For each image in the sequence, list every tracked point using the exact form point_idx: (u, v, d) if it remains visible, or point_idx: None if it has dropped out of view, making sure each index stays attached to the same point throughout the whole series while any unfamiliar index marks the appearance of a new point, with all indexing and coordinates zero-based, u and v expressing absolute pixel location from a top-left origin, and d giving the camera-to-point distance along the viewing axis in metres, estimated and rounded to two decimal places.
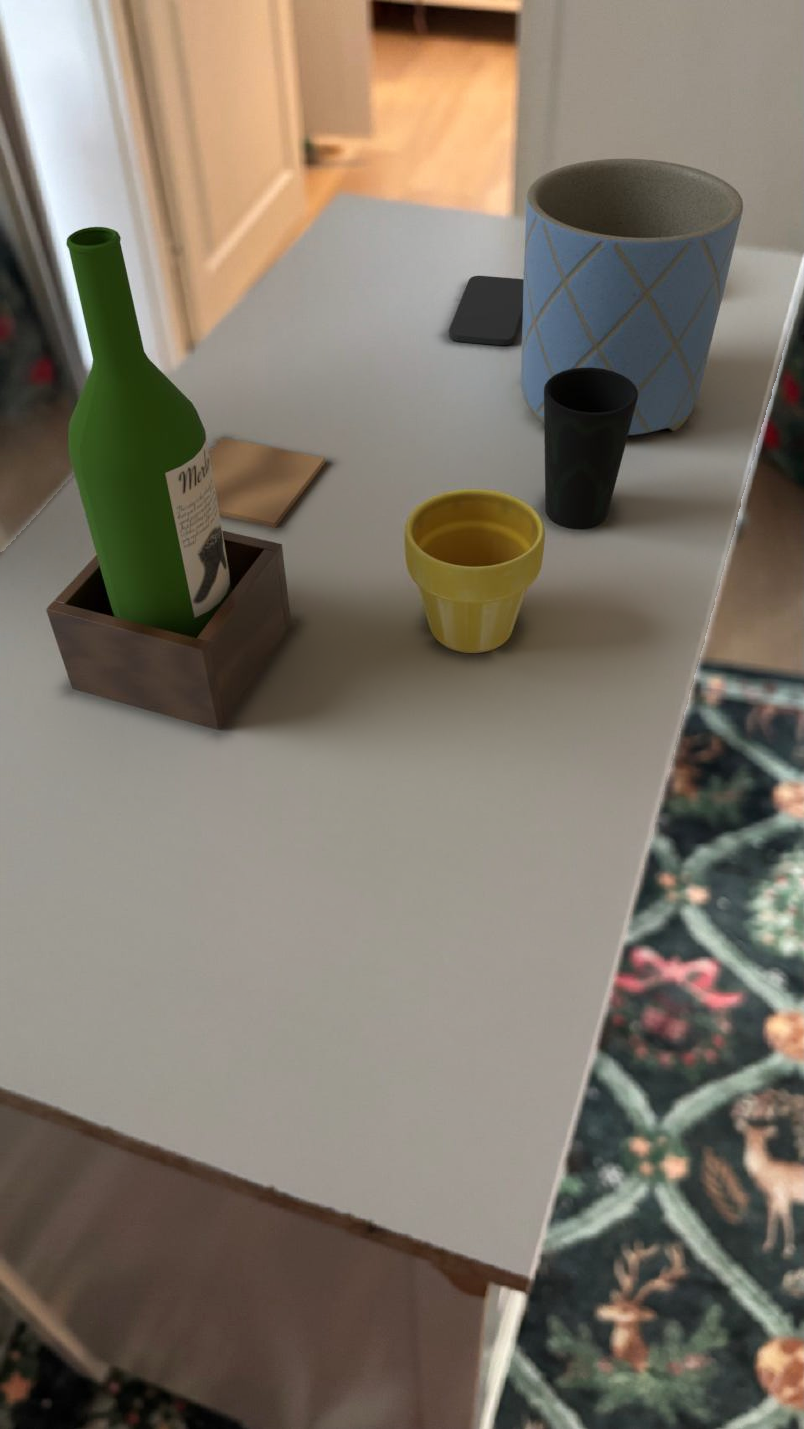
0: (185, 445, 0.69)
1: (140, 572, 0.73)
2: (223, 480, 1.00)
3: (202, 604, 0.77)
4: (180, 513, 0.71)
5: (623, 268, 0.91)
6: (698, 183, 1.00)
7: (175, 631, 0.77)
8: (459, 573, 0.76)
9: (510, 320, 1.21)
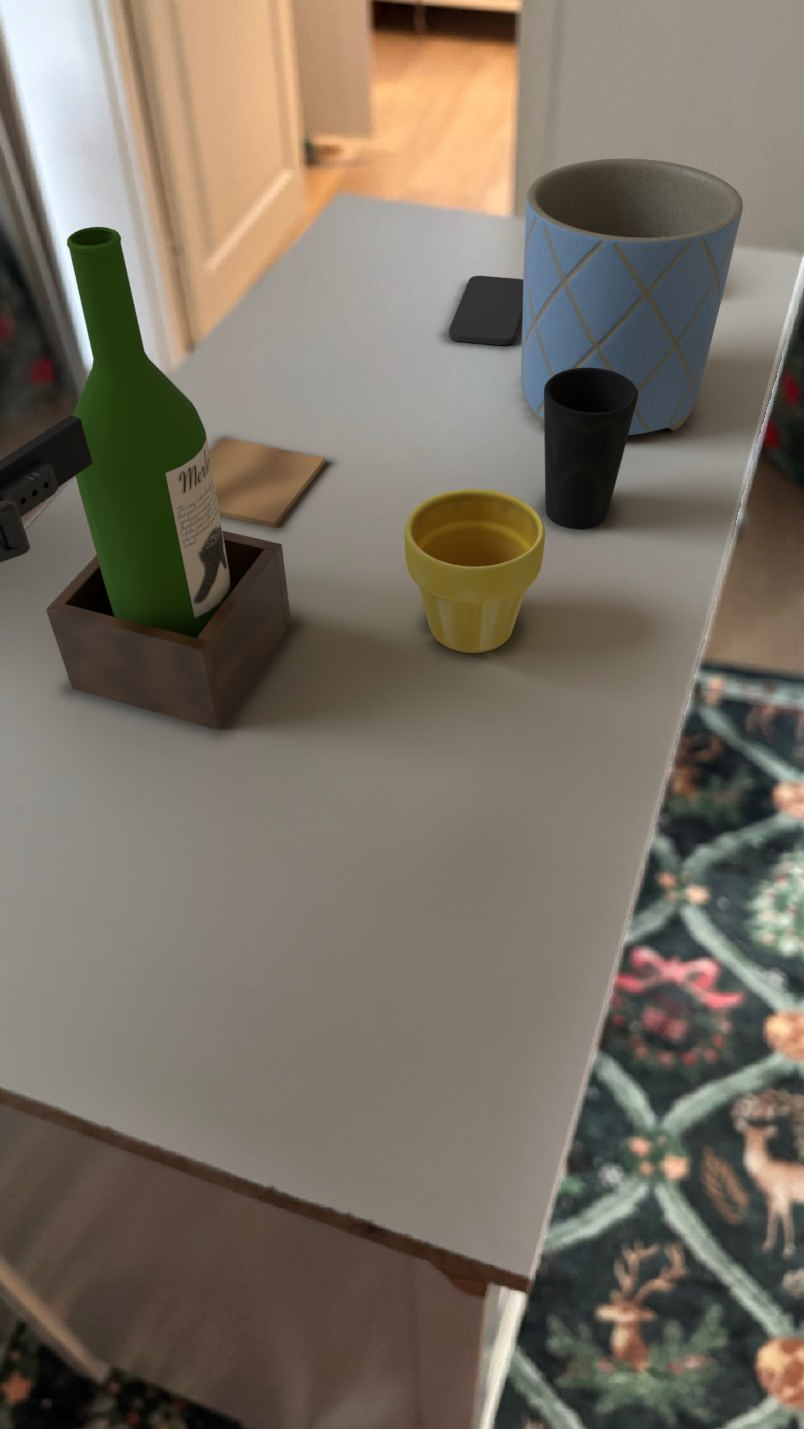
0: (185, 445, 0.69)
1: (140, 572, 0.73)
2: (223, 480, 1.00)
3: (202, 604, 0.77)
4: (180, 513, 0.71)
5: (623, 268, 0.91)
6: (698, 183, 1.00)
7: (175, 631, 0.77)
8: (459, 572, 0.76)
9: (510, 320, 1.21)
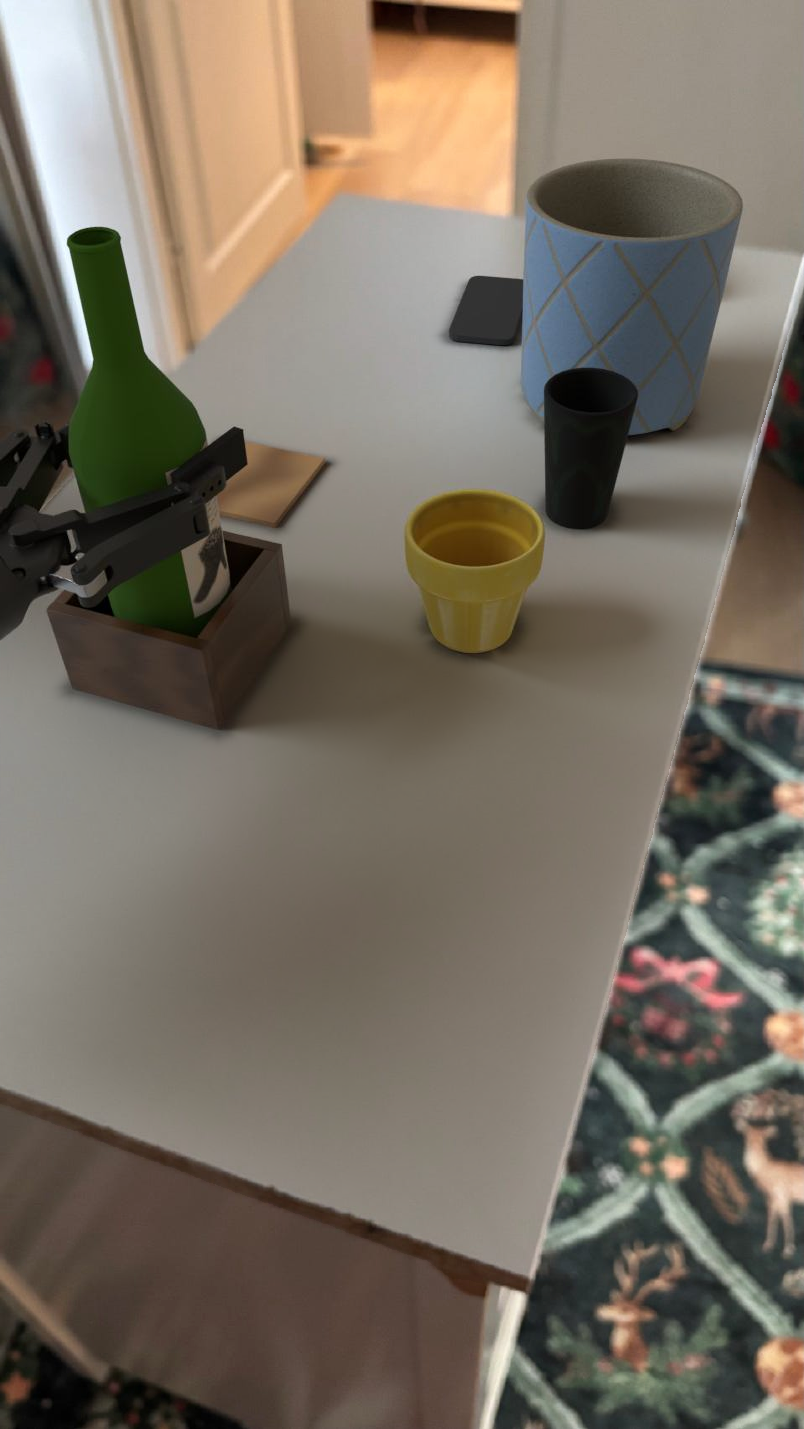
0: (185, 445, 0.69)
1: None
2: None
3: (202, 604, 0.77)
4: None
5: (623, 268, 0.91)
6: (698, 183, 1.00)
7: (175, 631, 0.77)
8: (459, 572, 0.76)
9: (510, 320, 1.21)
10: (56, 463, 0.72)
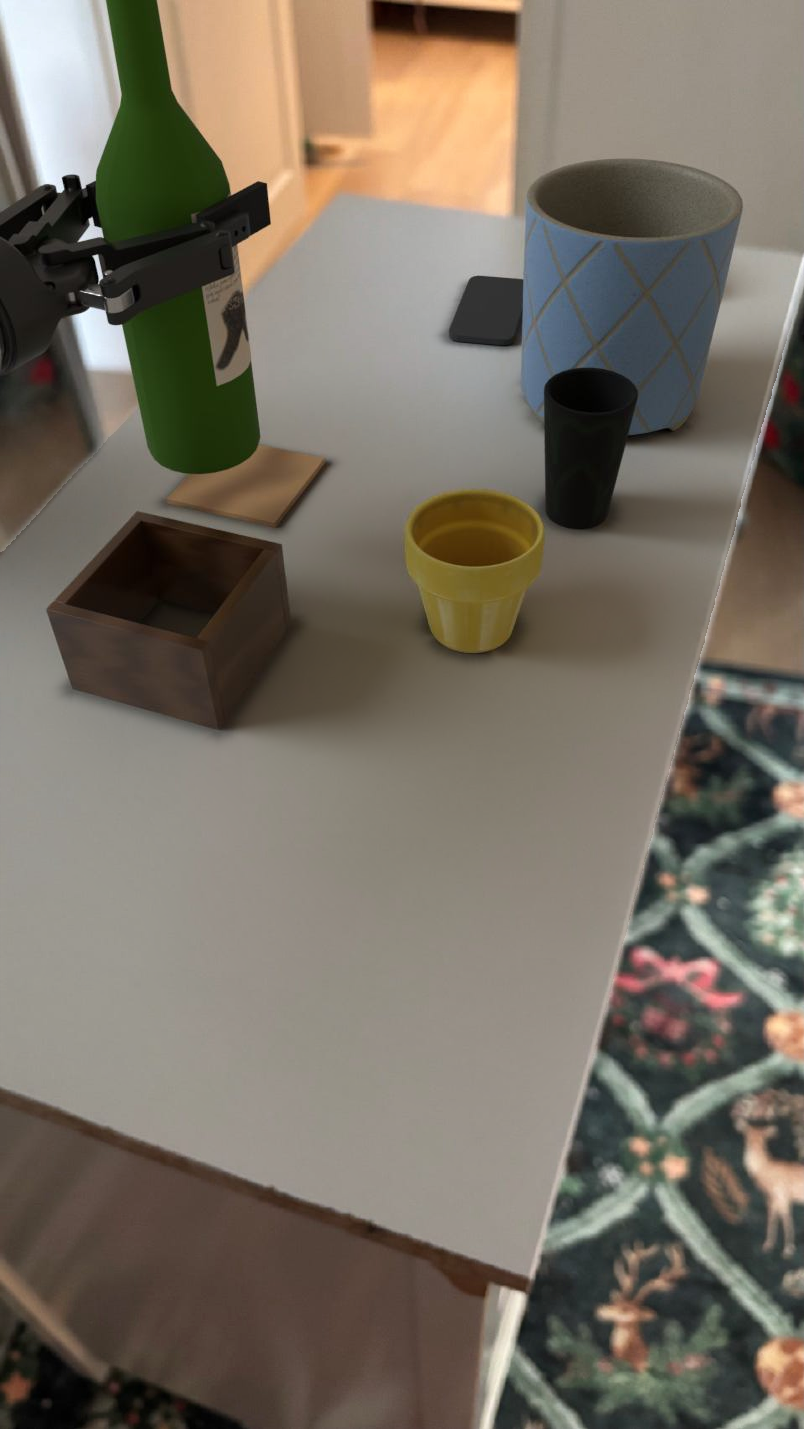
0: (211, 188, 0.70)
1: (164, 329, 0.74)
2: (223, 480, 1.00)
3: (224, 372, 0.78)
4: None
5: (623, 268, 0.91)
6: (698, 183, 1.00)
7: (197, 399, 0.78)
8: (459, 572, 0.76)
9: (510, 320, 1.21)
10: (82, 219, 0.74)
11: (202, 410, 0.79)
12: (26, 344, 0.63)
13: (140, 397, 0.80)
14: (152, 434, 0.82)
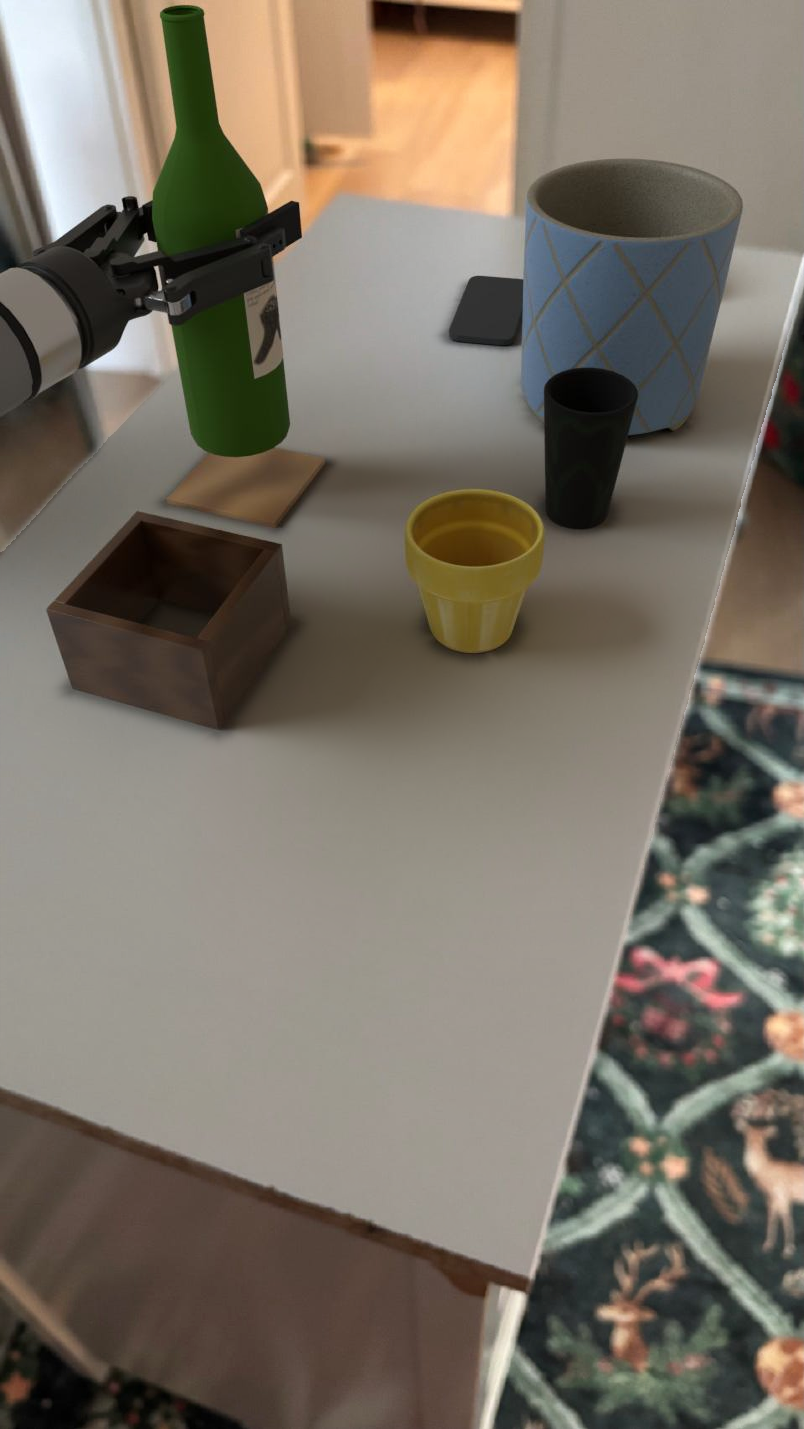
0: (252, 207, 0.81)
1: (210, 329, 0.85)
2: (223, 480, 1.00)
3: (261, 366, 0.89)
4: None
5: (623, 268, 0.91)
6: (698, 183, 1.00)
7: (237, 391, 0.89)
8: (459, 572, 0.76)
9: (510, 320, 1.21)
10: (139, 235, 0.85)
11: (241, 400, 0.90)
12: (101, 342, 0.74)
13: (186, 389, 0.91)
14: (196, 422, 0.93)
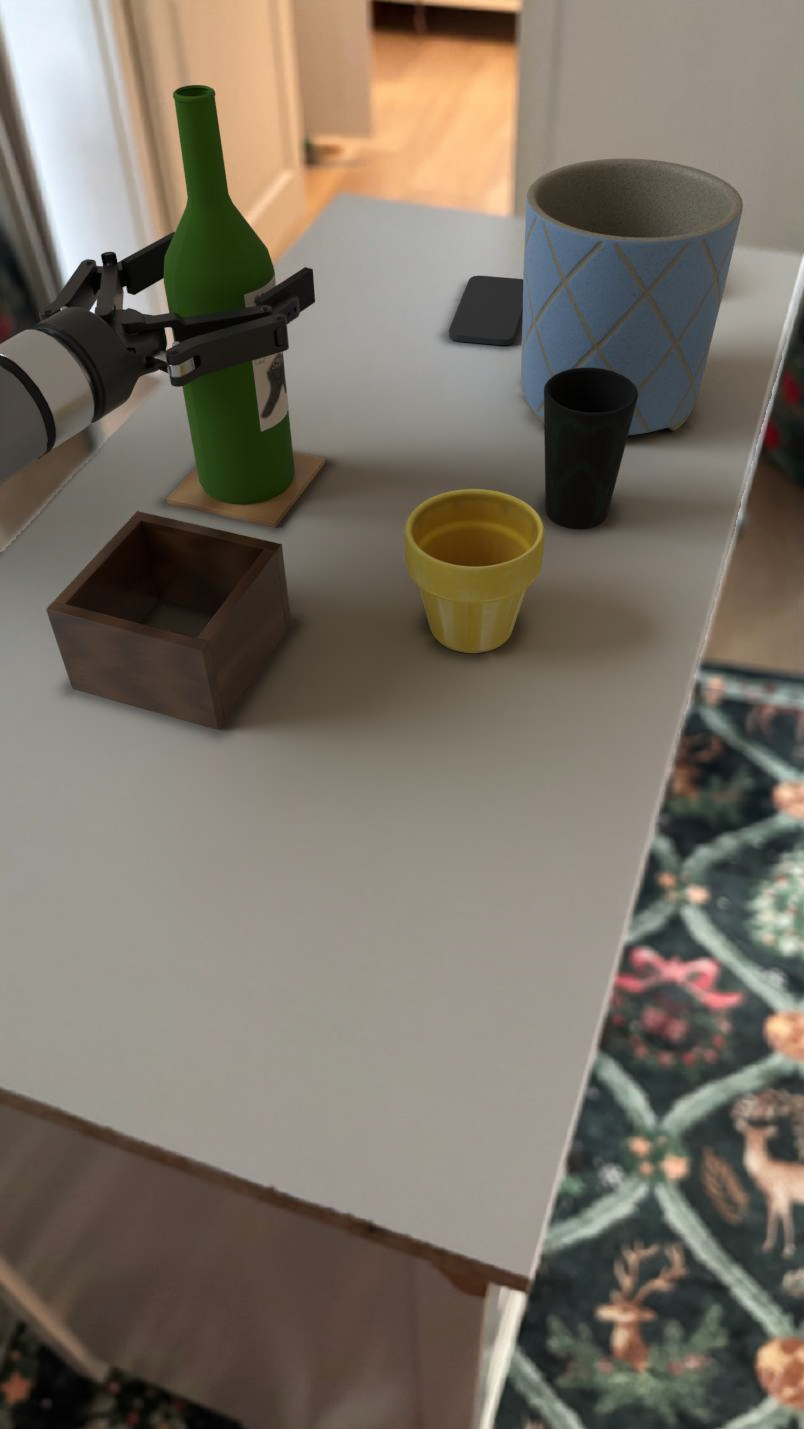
0: (260, 273, 0.84)
1: (219, 386, 0.89)
2: None
3: (267, 420, 0.93)
4: None
5: (623, 268, 0.91)
6: (698, 183, 1.00)
7: (245, 443, 0.93)
8: (459, 572, 0.76)
9: (510, 320, 1.21)
10: None
11: (248, 451, 0.94)
12: (112, 399, 0.77)
13: (195, 440, 0.95)
14: (204, 471, 0.96)
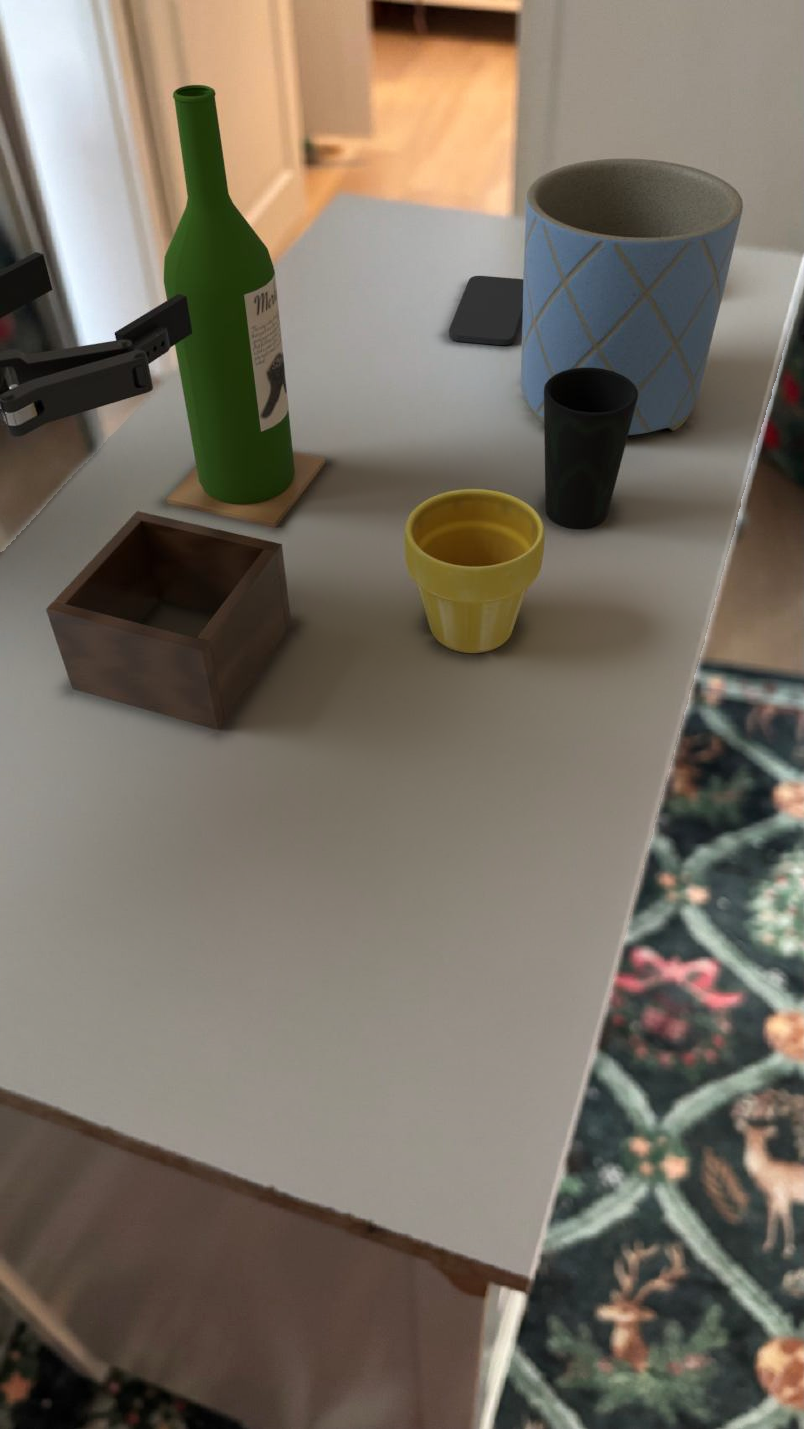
0: (260, 273, 0.84)
1: (219, 386, 0.89)
2: None
3: (267, 420, 0.93)
4: (253, 333, 0.87)
5: (623, 268, 0.91)
6: (698, 183, 1.00)
7: (245, 443, 0.93)
8: (459, 572, 0.76)
9: (510, 320, 1.21)
10: None
11: (248, 451, 0.94)
12: None
13: (195, 440, 0.95)
14: (204, 471, 0.96)
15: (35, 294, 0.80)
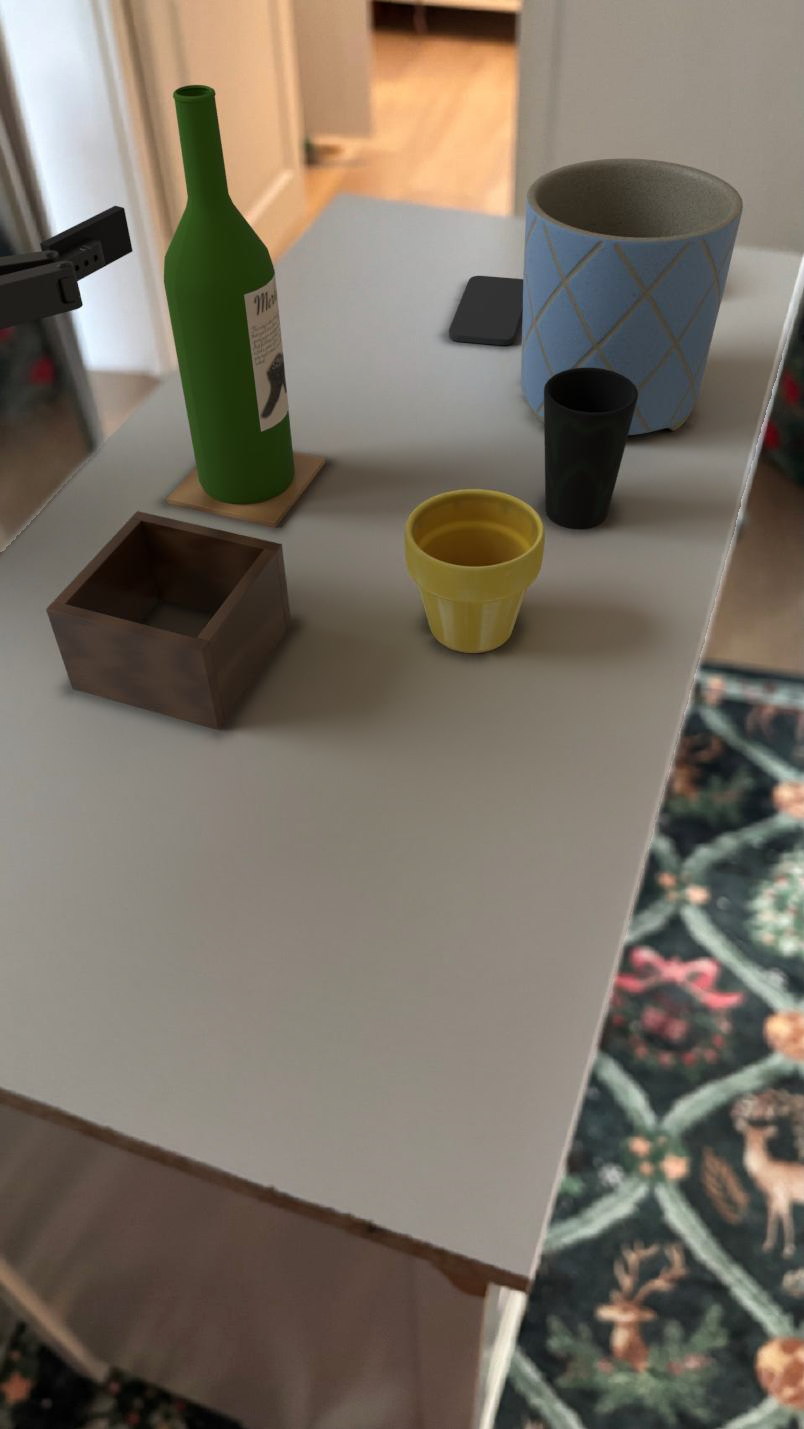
0: (260, 273, 0.84)
1: (219, 386, 0.89)
2: None
3: (267, 420, 0.93)
4: (253, 333, 0.87)
5: (623, 268, 0.91)
6: (698, 183, 1.00)
7: (245, 443, 0.93)
8: (459, 572, 0.76)
9: (510, 320, 1.21)
10: None
11: (248, 451, 0.94)
12: None
13: (195, 440, 0.95)
14: (204, 471, 0.96)
15: None
